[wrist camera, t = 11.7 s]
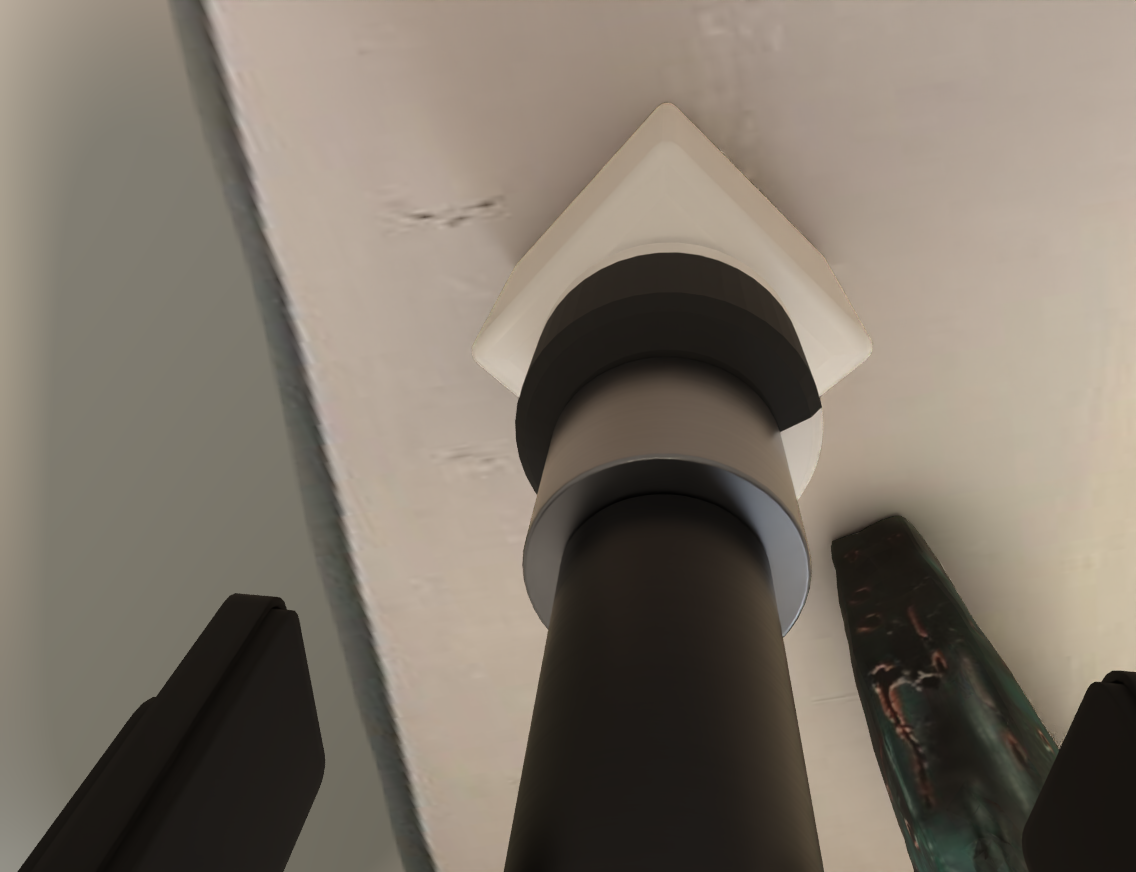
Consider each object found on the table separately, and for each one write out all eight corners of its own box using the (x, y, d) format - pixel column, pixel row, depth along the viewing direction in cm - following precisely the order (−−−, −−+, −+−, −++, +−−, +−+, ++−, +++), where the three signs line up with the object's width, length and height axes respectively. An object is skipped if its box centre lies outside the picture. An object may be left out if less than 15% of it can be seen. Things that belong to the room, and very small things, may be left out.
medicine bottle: (510, 269, 26) (408, 456, 16) (666, 95, 23) (666, 185, 13) (666, 407, 28) (665, 655, 18) (830, 261, 25) (944, 458, 15)
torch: (550, 348, 15) (361, 943, 6) (800, 362, 14) (1032, 1026, 5) (549, 546, 17) (410, 1205, 8) (766, 563, 16) (887, 1277, 7)
